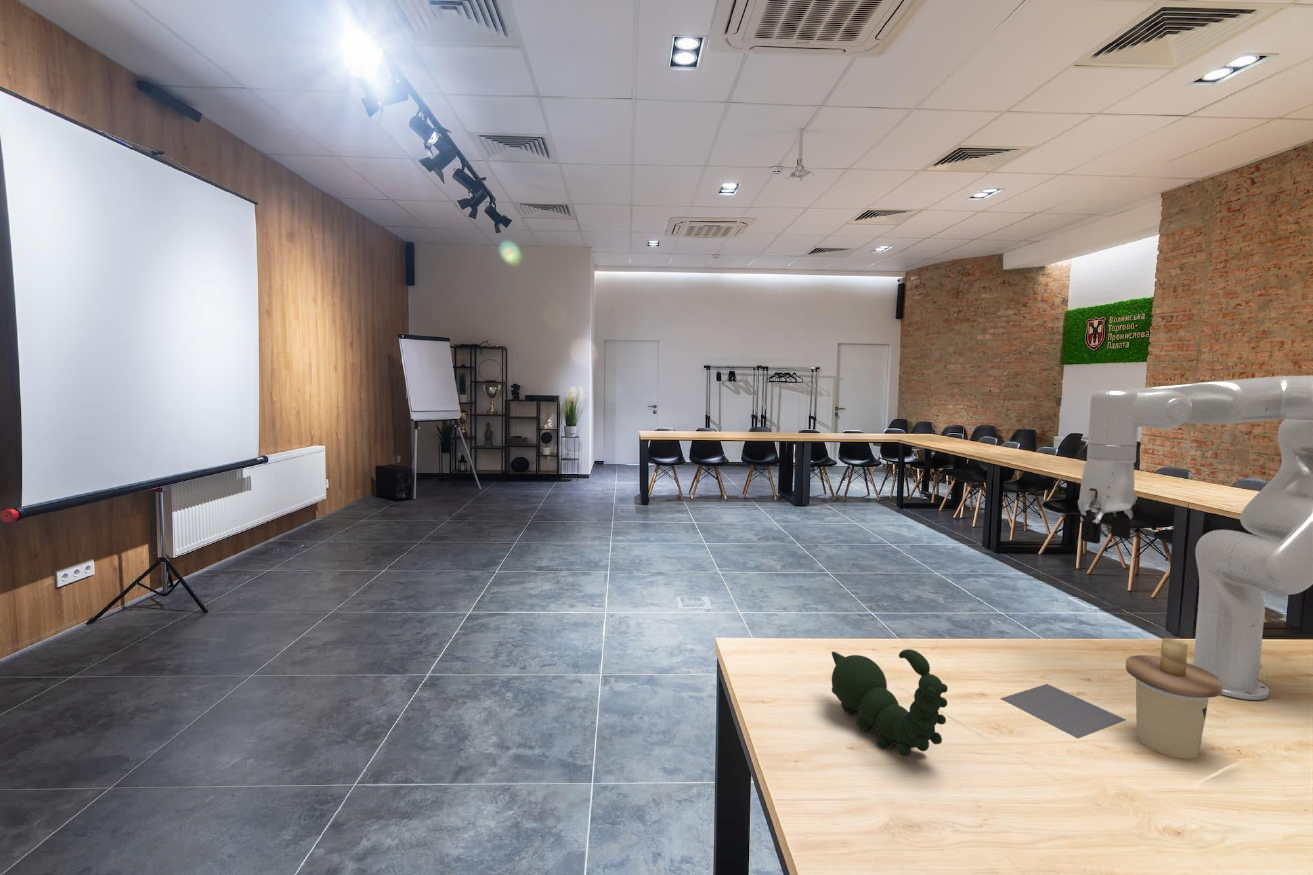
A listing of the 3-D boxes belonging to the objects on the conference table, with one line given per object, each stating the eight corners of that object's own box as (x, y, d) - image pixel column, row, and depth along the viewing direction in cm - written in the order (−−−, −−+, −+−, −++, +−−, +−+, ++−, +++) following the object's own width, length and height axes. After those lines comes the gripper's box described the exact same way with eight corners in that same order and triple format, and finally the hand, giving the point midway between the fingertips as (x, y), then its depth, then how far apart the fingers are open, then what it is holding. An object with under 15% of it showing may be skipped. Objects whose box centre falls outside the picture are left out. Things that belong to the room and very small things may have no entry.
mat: (1046, 686, 117) (1047, 683, 117) (1126, 722, 105) (1126, 719, 105) (1000, 701, 112) (1000, 698, 112) (1077, 741, 99) (1077, 738, 99)
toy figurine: (951, 773, 93) (848, 686, 116) (966, 665, 90) (856, 597, 113) (906, 788, 90) (808, 695, 113) (919, 675, 87) (816, 603, 110)
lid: (1150, 656, 104) (1152, 623, 104) (1237, 688, 94) (1241, 650, 93) (1110, 669, 100) (1112, 634, 99) (1197, 704, 89) (1200, 664, 88)
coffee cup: (1220, 768, 92) (1226, 695, 91) (1152, 761, 94) (1157, 689, 93) (1180, 734, 101) (1185, 668, 100) (1118, 728, 103) (1123, 662, 102)
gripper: (1115, 450, 121) (1110, 531, 122) (1063, 453, 114) (1058, 539, 115) (1159, 453, 114) (1152, 539, 115) (1105, 457, 107) (1099, 549, 108)
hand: (1105, 539), depth 115 cm, fingers open, 9 cm apart
